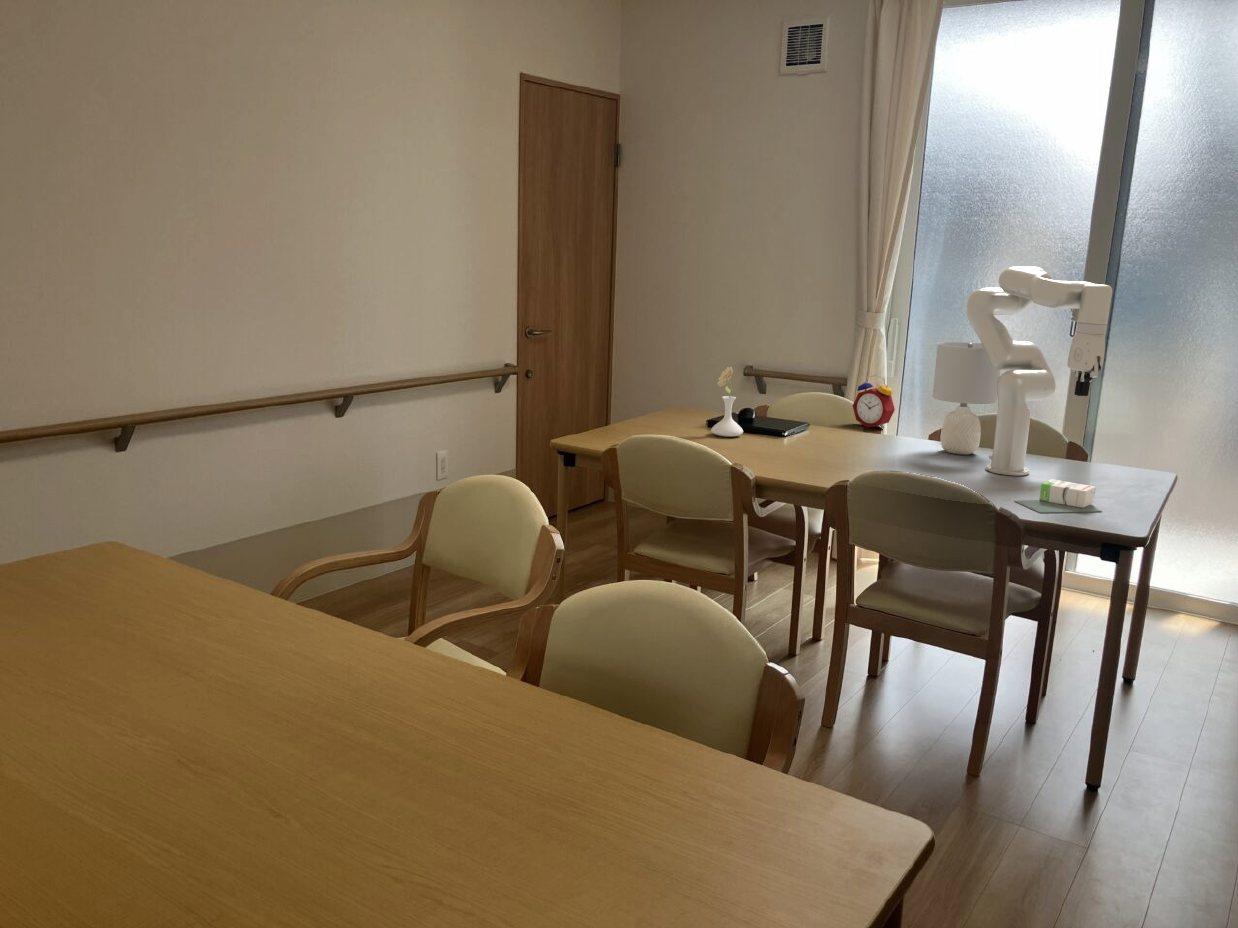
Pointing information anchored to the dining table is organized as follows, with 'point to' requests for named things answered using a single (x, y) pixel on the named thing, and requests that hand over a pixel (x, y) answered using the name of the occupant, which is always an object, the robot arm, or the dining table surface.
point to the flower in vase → (727, 410)
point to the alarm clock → (873, 405)
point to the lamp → (963, 392)
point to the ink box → (1067, 493)
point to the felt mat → (1053, 507)
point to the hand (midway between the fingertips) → (1081, 395)
